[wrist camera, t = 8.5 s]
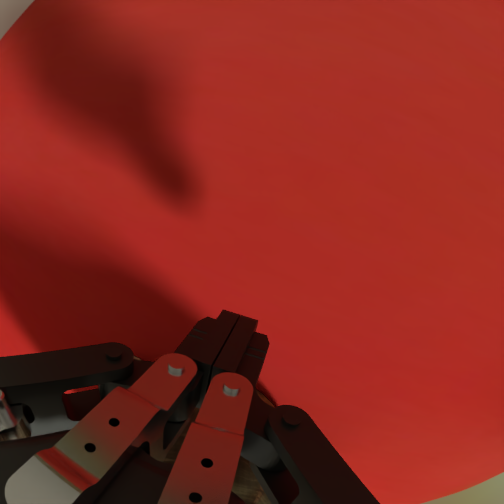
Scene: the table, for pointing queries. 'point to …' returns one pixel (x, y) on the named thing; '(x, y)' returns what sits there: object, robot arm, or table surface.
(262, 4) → the table surface
